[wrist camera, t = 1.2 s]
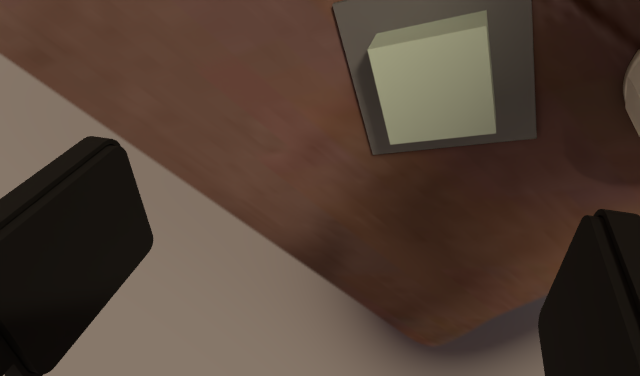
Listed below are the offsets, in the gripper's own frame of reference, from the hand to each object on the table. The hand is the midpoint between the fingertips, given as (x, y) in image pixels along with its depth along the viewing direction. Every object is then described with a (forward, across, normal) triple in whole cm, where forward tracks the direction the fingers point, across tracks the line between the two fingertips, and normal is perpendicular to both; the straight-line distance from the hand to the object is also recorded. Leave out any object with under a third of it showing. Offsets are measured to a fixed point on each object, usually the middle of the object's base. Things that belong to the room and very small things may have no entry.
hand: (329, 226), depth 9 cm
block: (+23, -2, +6) cm, 24 cm away
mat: (+24, -2, +6) cm, 25 cm away
